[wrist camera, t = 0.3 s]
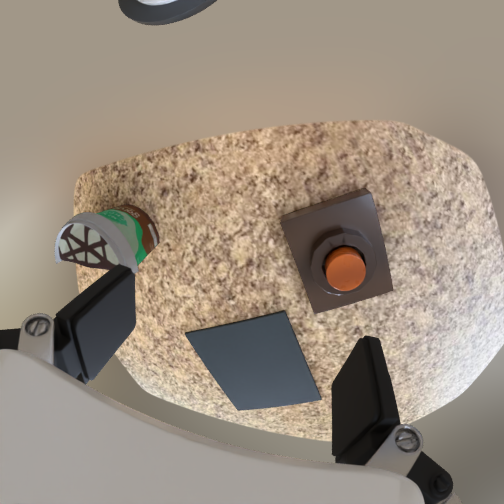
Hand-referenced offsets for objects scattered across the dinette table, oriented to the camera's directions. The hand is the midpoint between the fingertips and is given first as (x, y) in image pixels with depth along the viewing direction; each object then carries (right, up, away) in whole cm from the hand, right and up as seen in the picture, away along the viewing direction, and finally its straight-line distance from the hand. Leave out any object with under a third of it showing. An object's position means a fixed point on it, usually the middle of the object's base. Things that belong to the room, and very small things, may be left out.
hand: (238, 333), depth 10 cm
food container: (-16, +8, +24) cm, 30 cm away
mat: (+1, -16, +31) cm, 34 cm away
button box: (+11, +3, +21) cm, 24 cm away
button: (+10, +2, +17) cm, 20 cm away
